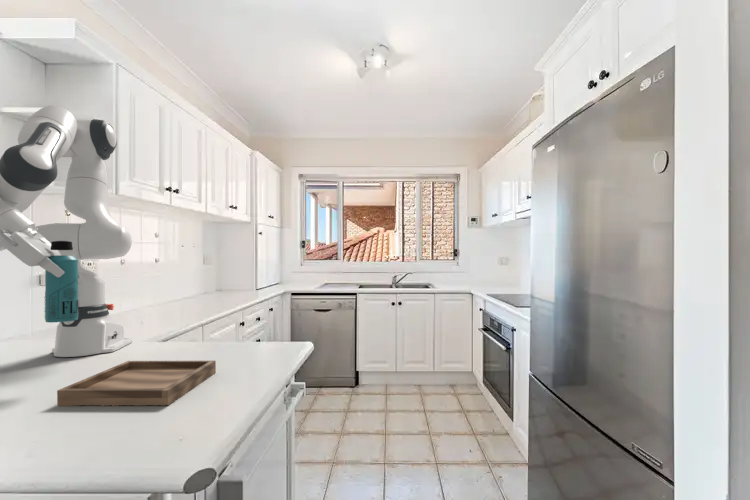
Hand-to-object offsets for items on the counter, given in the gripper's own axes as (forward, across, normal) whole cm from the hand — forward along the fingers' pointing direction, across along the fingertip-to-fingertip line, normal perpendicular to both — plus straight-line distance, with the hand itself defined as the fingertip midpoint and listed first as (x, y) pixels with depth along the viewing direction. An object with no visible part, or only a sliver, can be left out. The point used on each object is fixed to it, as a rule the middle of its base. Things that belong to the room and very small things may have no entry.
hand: (65, 274), depth 97 cm
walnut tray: (+29, -15, +6) cm, 33 cm away
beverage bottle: (+8, 0, +9) cm, 12 cm away
